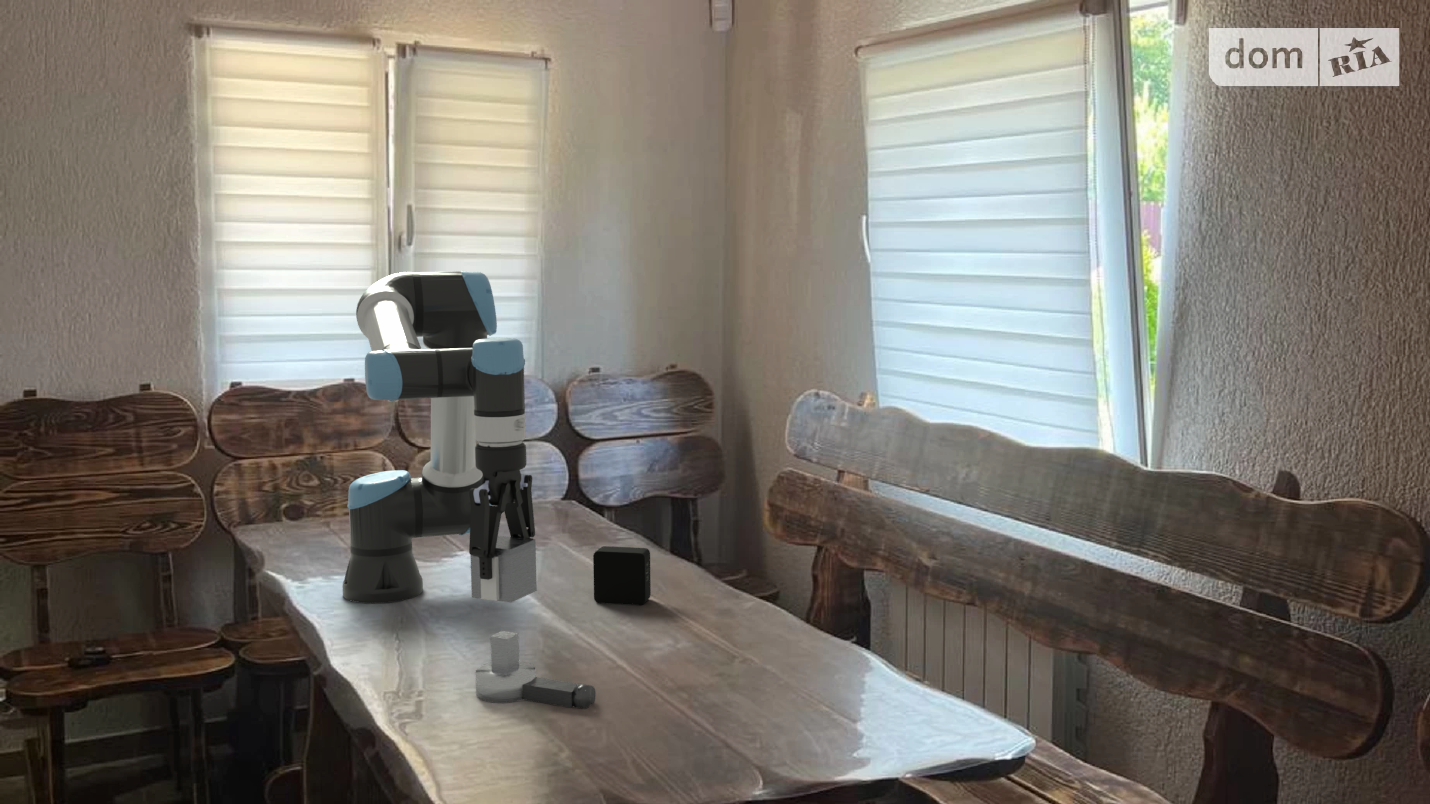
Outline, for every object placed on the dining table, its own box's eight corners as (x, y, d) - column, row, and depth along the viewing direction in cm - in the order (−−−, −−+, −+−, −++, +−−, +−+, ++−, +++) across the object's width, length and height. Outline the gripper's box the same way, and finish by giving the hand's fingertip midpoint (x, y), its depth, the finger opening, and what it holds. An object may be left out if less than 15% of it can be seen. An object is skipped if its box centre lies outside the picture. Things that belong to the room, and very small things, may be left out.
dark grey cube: (511, 602, 193) (510, 549, 192) (471, 597, 195) (470, 545, 194) (536, 590, 199) (535, 539, 198) (497, 586, 202) (496, 535, 201)
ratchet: (464, 701, 197) (462, 639, 195) (497, 682, 205) (495, 623, 203) (574, 719, 189) (573, 655, 188) (604, 699, 197) (603, 637, 196)
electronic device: (645, 605, 244) (644, 553, 243) (593, 602, 246) (593, 551, 245) (650, 599, 248) (650, 548, 247) (600, 596, 250) (599, 545, 249)
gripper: (484, 454, 184) (488, 612, 187) (556, 434, 202) (559, 579, 205) (439, 451, 187) (444, 607, 190) (515, 431, 205) (518, 574, 208)
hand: (504, 592), depth 197 cm, fingers closed on dark grey cube, 7 cm apart
